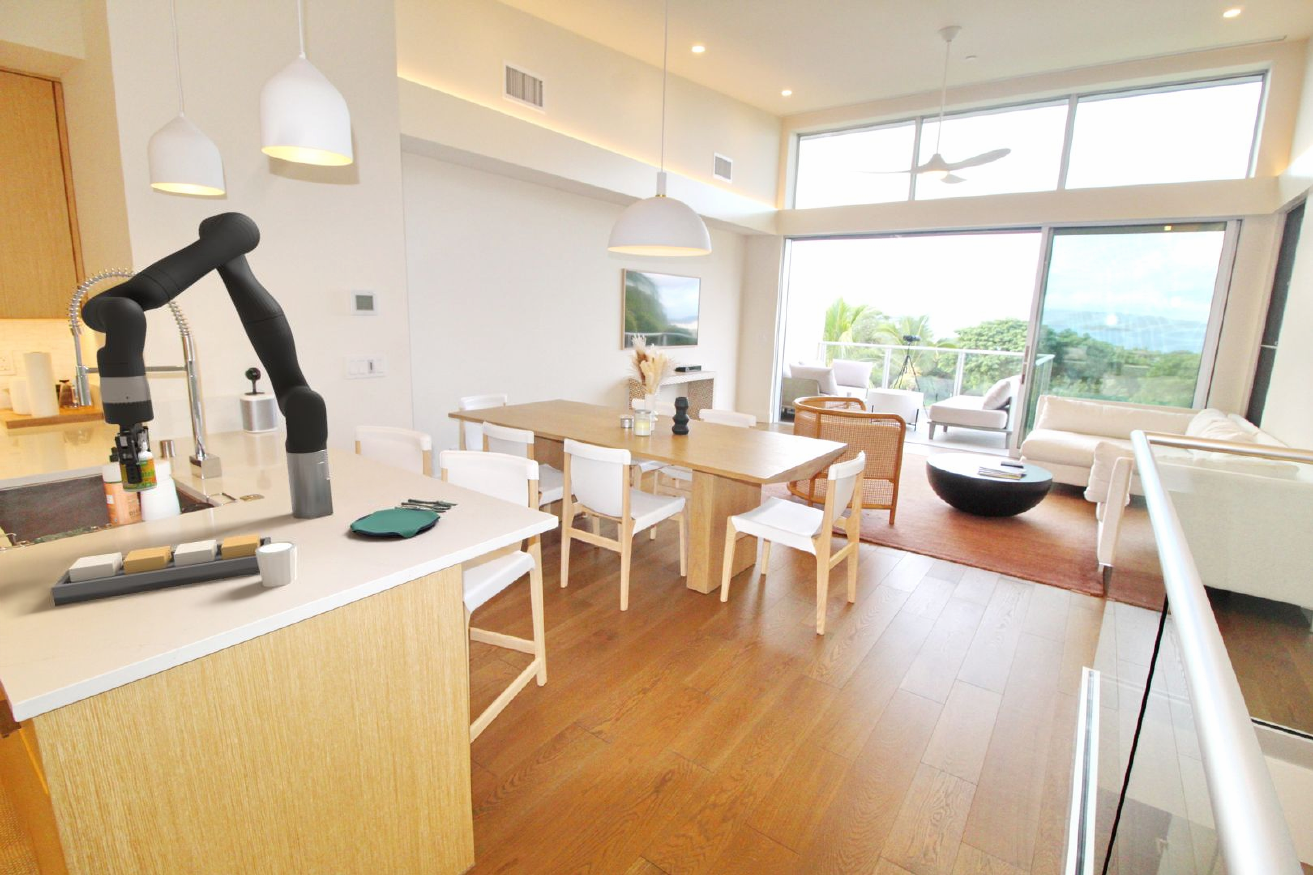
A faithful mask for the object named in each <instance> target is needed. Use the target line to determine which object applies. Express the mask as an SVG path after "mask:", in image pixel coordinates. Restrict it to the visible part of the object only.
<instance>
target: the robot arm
mask: <svg viewBox="0 0 1313 875" xmlns="http://www.w3.org/2000/svg"><path fill="white" fill-rule="evenodd" d="M198 236H199V239H197V240H195V241H194V242H192V243H190V244H189V245H187V246H185V247H182V248H181V249H179V250H177V251H175V252H172V253H171V254H169V255H167V256H165V257H163V258H160V259H159V260H157V261H156V262H153V263H152V264H150V265H149V266H147V267H145V268H144V269H142V270H141V271H139V272H138V273H137V274H134V276H132V277H130V279H128V280H126V281H125V282H121V283H119V284H117V285H114V286H112V287H110V288H109V289H108V288H107V289H105V290H104V291H101V292H99V293H98V294H96V295H94V296H92V297H91V298H90V299H88V300H87V301H86V302H85V303H84V304H83V306H82V309H81V311H80V312H81V313H80V315H81V317H80V318H81V319H82V321H83V323H84V325H85V326H87V327H88V328H89V329H91V330H93V331H94V332H98V333H101V334H105V341H104V345H103V346H102V347H100V348H98V349H97V351H96V364H97V365H96V366H97V369H98V370H97V371H98V375H99V392H100V393H99V394H100V398H101V406H102V411H103V418H104V422H105V423H106V424H108V425H118V426H119V428H118V429H119V432H117V434H116V436H114V439H113V440H114V443H115V445H116V450H117V455H118V461H119V460H120V464H121V465H124V466H125V468H126V474H127V480H128V483H129V484H138V483H141V482H142V481H143V478H142V472H141V465H140V463H141V461H140V454H142V453H143V442H146V443H147V449H146V451H147V452H150V453H152V452H151V446H150V444H151V443H150V436H149V427H148V426H147V425H143V423H147V422H151V421H153V420H154V418H155V415H154V408H153V401H152V395H151V394H152V393H151V388H150V384H149V380H148V377H147V372H146V366H145V360H144V349H145V346H146V337H147V328H148V325H147V324H148V323H147V318H146V314H145V312H147V311H150V310H151V311H152V310H156V309H159V308H161V307H163V306H166V304H169V303H170V302H171V301H172V300H173V299H175V298H176V297H178V296H179V295H180V294H183V292H184V291H186V290H187V289H189V288H190V287H191V286H193V285H194V284H195V283H197V282H199V281H200V280H201V279H202V278H204V277H206V276H207V275H209V274H210V273H211V272H212V271H214V270H216V271H217V274H218V275H219V277H220V278H221V280H222V282H223V284H224V287H225V288H226V290H227V293H228V295H229V297H230V300H231V302H232V304H233V306H234V307H235V310H236V312H237V315H238V317H239V320H240V322H241V324H242V327H243V329H244V332H245V334H246V335H247V338H248V340H249V342H250V344H251V346H252V348H253V349H254V352H255V354H256V355H257V357H258V359H259V362H260V363H261V365H262V367H263V368H264V370H265V371H266V373H267V375H268V379H269V380H270V384H271V386H272V390H273V392H274V395H275V399H276V402H277V406H278V409H279V412H280V413H281V414H282V416H283V417H284V418H285V428H286V431H285V432H286V440H285V442H284V446H285V454H286V464H287V475H288V483H289V492H290V502H291V512H292V517H293V518H294V519H300V520H302V519H303V520H304V519H305V520H306V519H314V518H315V519H316V518H321V517H325V516H329V515H333V514H334V507H333V505H334V504H333V496H332V485H331V484H332V483H331V476H330V466H329V456H328V454H329V453H328V445H327V444H328V442H327V441H328V437H329V429H328V416H327V415H328V414H327V406H326V402H325V399H324V397H322V395H321V394H320V393H318V391H315V390H313V389H311V387H310V385H309V383H308V382H307V380H306V378H305V376H304V373H303V371H302V368H301V366H300V364H299V361H298V355H297V354H298V353H297V349H296V344H295V339H294V334H293V332H292V331H293V330H292V328H291V326H290V324H289V322H288V319H287V317H286V314H285V312H284V310H283V308H282V307H281V305H280V303H279V302H278V301H277V299H275V298H274V296H273V295H272V294H271V293H270V292H269V291H268V290H267V289H266V288H265V287H264V286H263V285H262V284H261V283H260V282H259V280H258V279H257V278H256V276H255V275H254V273H253V271H252V269H251V267H250V265H249V261H248V260H247V258H246V254H248V253H251V252H253V251H254V250H256V248H257V247H258V246H259V243H260V241H261V232H260V230H259V227H258V225H257V224H256V222H255V221H254V220H253V219H252V218H251V217H249V216H248V215H246V214H243V213H241V212H236V211H228V212H227V211H226V212H221V213H219V214H216V215H212V216H209V217H206V218H204V219H203V220H202V221H200V224H199V225H198ZM135 448H137V449H135ZM128 455H132V458H128Z"/></svg>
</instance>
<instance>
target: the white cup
mask: <svg viewBox="0 0 1313 875" xmlns="http://www.w3.org/2000/svg"><path fill="white" fill-rule="evenodd" d="M297 550H298V548H297V543H296V542H294V541H277V542H271V543H270V544H266V545H263V546H261V547H259V548H257V549H256V550H255V553H256V557H257V561H258V565H259V570H260V573H259V574H260V577H261V582H262V585H263V586H264V587H266V588H277V587H282V586H286V585H288V584H291V583H294V582H295V581H296V580H297V568H298V567H297V564H298V563H297V560H298V559H297V558H298V557H297V555H298V554H297Z"/></svg>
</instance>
